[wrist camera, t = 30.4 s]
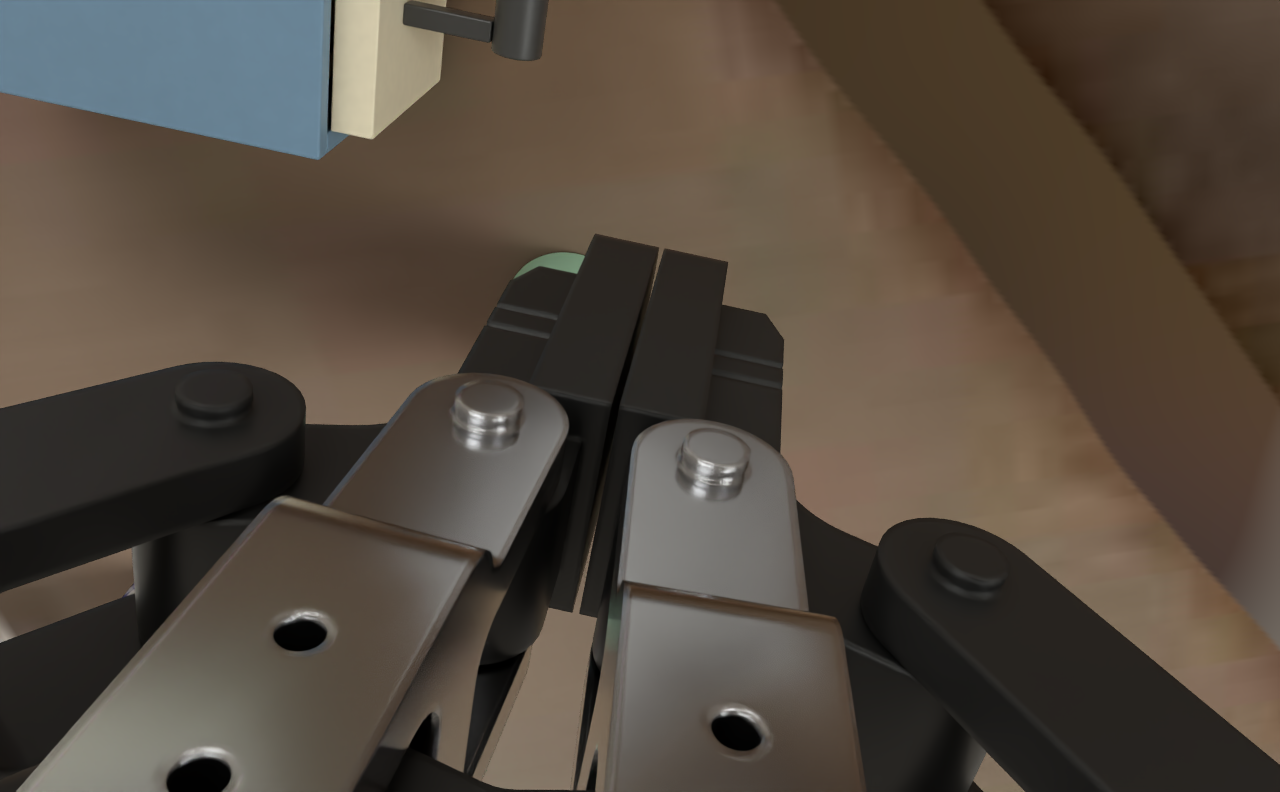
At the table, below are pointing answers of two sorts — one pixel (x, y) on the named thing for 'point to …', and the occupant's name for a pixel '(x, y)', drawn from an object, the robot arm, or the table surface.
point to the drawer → (411, 52)
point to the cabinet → (181, 65)
